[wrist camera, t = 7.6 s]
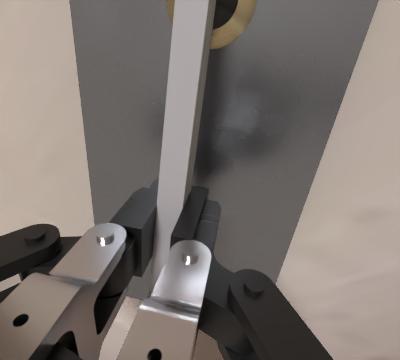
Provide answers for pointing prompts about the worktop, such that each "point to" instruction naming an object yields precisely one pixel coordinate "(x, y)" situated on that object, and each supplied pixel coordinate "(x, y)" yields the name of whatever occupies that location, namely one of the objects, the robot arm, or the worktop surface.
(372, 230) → the worktop surface
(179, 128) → the caliper
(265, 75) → the hole plate
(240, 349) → the robot arm
